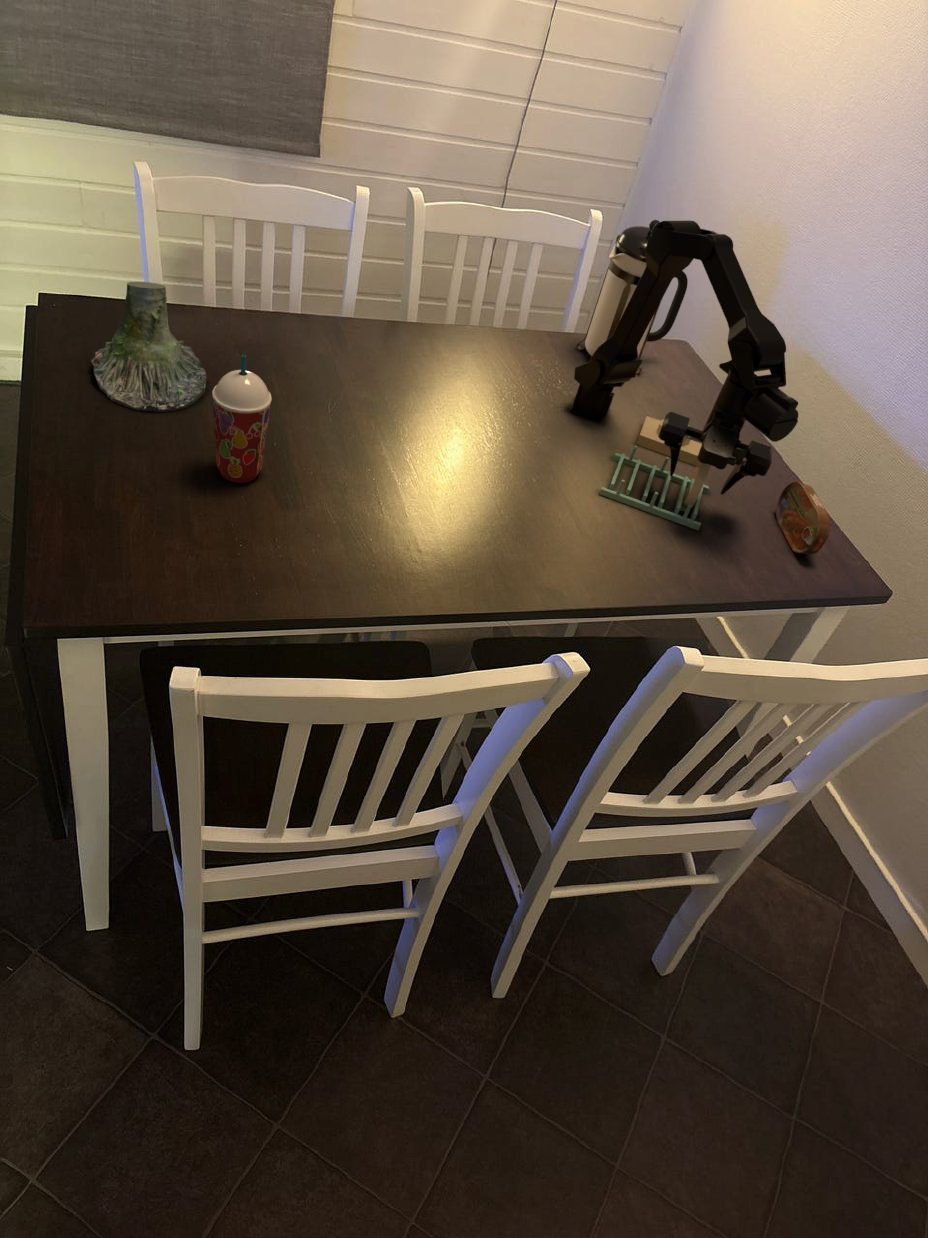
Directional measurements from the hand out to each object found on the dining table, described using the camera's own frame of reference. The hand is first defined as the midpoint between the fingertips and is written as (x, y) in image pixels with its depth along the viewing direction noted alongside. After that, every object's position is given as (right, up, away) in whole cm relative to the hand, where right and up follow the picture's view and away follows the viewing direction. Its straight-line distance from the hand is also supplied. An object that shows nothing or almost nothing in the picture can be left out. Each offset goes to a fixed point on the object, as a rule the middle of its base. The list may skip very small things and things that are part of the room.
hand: (696, 484), depth 155 cm
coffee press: (-8, +33, +38) cm, 51 cm away
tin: (+18, -9, +3) cm, 20 cm away
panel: (-1, +10, +17) cm, 20 cm away
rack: (-6, -1, +4) cm, 8 cm away
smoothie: (-75, -1, -16) cm, 77 cm away
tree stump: (-94, +17, -3) cm, 96 cm away
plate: (-1, -3, +3) cm, 5 cm away
